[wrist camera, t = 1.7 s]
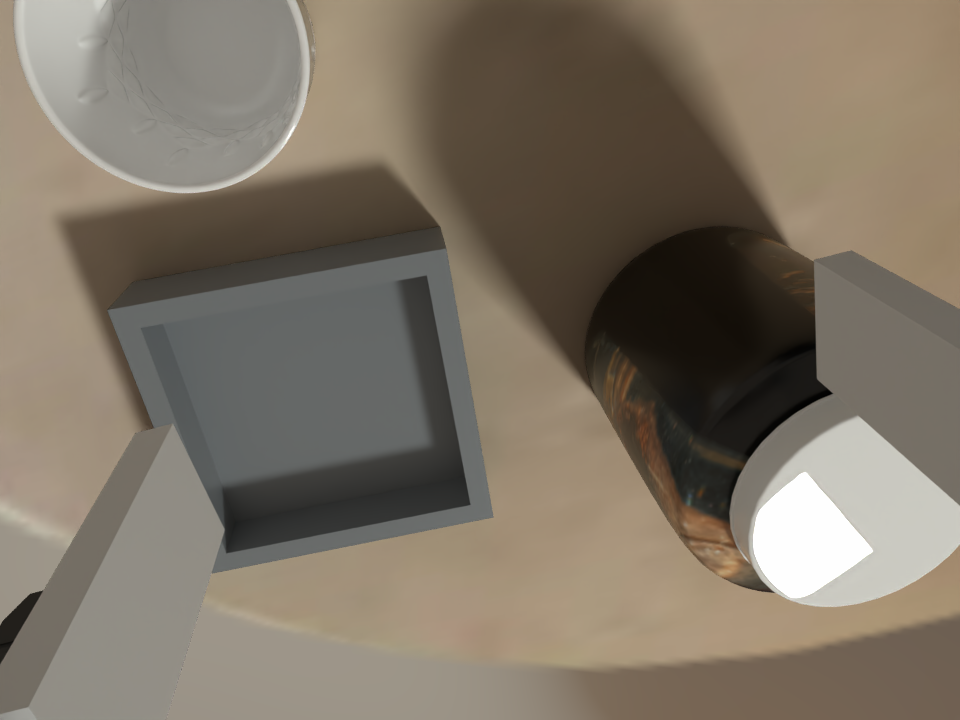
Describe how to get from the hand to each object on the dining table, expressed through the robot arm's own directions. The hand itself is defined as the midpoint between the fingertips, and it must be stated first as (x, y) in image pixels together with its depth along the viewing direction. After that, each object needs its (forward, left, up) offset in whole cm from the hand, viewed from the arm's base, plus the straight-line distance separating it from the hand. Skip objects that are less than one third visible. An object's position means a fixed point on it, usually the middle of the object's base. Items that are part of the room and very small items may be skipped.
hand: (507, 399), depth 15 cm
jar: (+10, +12, -21) cm, 26 cm away
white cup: (-7, -7, -21) cm, 23 cm away
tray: (+9, -7, -20) cm, 23 cm away
